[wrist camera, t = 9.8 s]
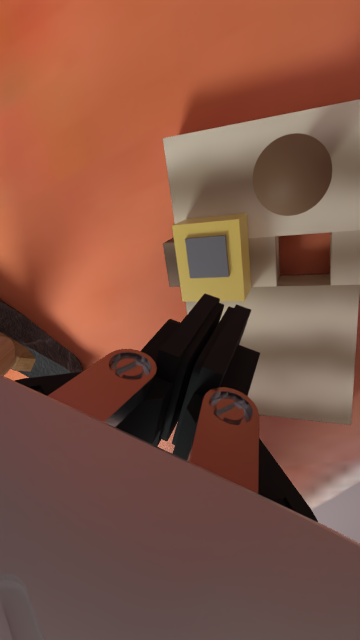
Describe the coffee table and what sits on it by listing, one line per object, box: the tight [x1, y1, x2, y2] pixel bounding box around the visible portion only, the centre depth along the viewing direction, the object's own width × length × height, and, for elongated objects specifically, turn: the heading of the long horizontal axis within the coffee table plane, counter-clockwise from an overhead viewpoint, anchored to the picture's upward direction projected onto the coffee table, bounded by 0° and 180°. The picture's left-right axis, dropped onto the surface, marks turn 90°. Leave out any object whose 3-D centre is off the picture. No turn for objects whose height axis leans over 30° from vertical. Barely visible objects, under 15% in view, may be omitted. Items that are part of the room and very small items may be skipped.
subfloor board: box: [163, 99, 360, 425], centre depth 30 cm, size 25×17×3 cm
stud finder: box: [172, 213, 251, 302], centre depth 27 cm, size 6×5×3 cm
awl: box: [253, 133, 332, 216], centre depth 19 cm, size 3×3×12 cm
